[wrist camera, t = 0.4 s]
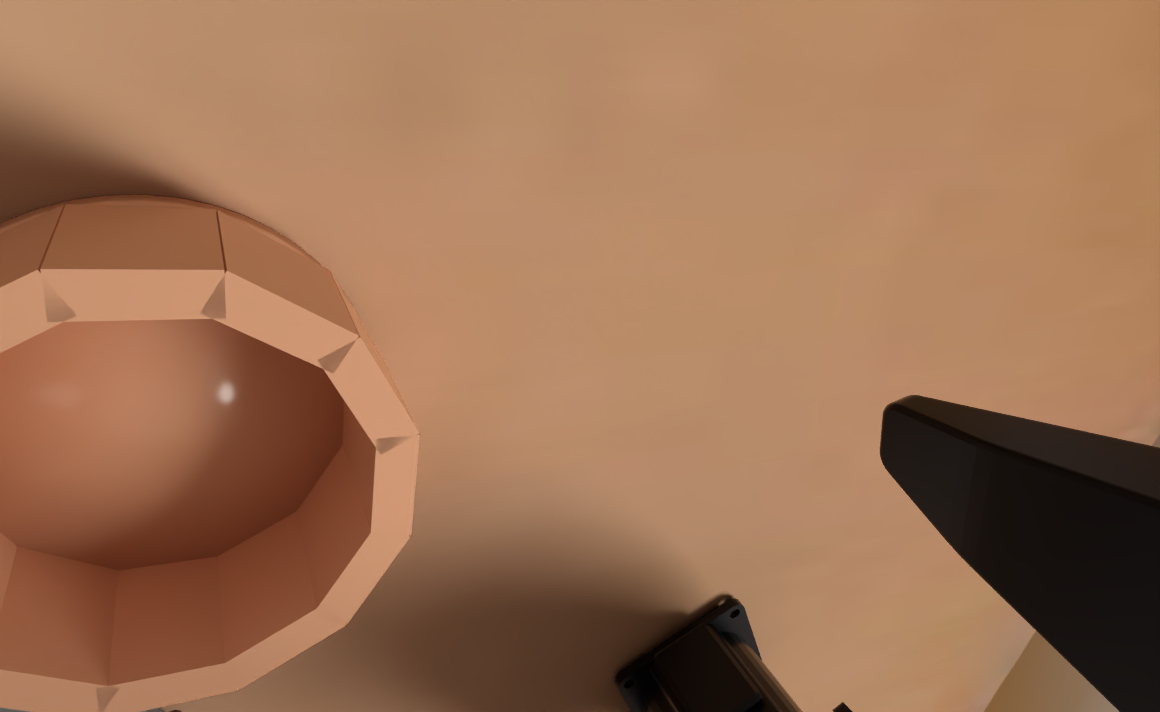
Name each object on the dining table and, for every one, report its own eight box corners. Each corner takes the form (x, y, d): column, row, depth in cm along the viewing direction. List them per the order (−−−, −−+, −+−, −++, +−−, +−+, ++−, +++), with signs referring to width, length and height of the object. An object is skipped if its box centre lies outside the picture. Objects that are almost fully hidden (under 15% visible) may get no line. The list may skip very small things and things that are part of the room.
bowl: (434, 441, 25) (485, 541, 21) (96, 634, 23) (80, 786, 19) (237, 113, 18) (255, 165, 14) (-257, 342, 16) (-396, 477, 12)
